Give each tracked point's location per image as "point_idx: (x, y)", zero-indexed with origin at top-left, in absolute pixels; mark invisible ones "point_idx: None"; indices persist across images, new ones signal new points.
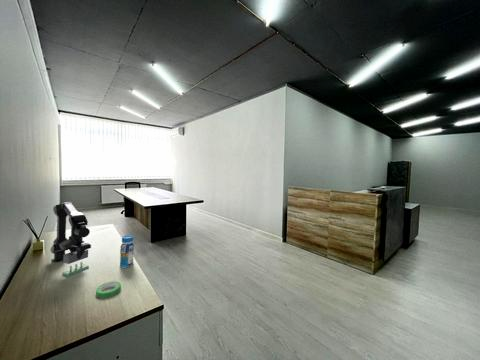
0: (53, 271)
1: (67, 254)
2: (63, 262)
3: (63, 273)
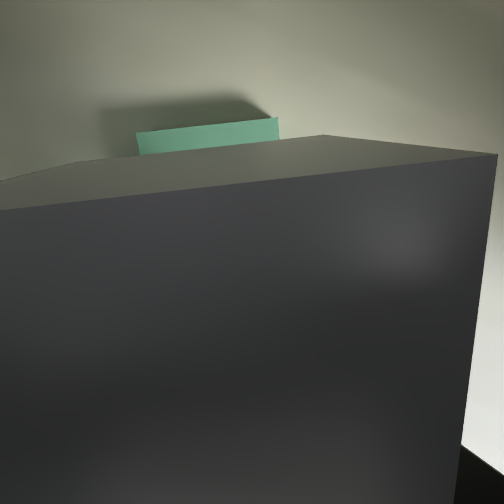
0: (494, 93)
1: (236, 307)
2: (319, 135)
3: (247, 121)
